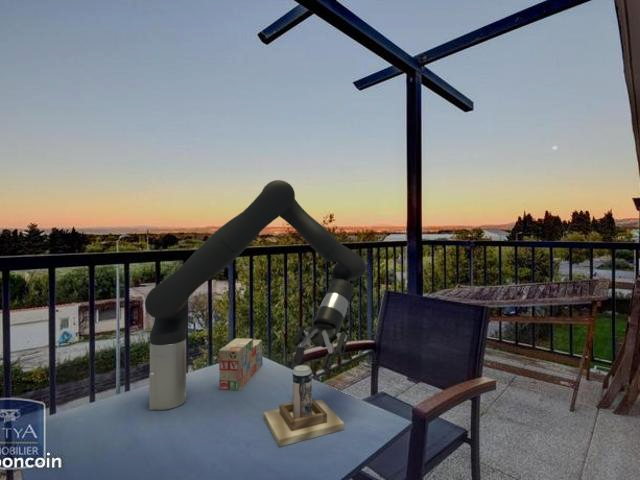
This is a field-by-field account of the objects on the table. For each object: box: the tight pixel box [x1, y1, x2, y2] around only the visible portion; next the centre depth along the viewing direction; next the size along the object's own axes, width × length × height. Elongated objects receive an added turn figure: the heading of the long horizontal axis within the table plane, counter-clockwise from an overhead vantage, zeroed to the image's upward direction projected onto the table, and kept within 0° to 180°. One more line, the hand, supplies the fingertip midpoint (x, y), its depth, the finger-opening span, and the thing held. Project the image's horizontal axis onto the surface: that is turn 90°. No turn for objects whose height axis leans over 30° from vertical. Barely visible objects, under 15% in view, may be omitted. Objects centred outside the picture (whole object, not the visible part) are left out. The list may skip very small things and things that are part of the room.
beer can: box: [292, 364, 313, 419], centre depth 82 cm, size 5×5×12 cm
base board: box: [263, 397, 345, 447], centre depth 82 cm, size 16×13×4 cm
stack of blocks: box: [218, 337, 263, 392], centre depth 111 cm, size 21×6×12 cm, turn 170°
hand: (310, 366), depth 85 cm, fingers open, 8 cm apart
